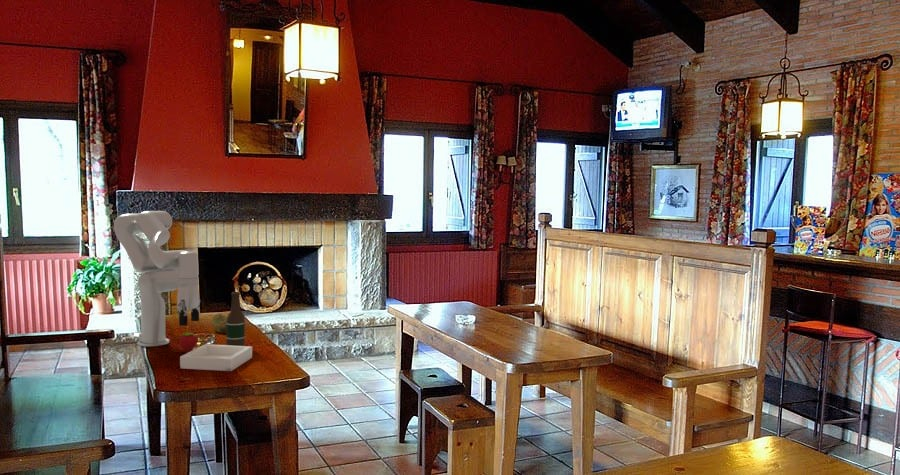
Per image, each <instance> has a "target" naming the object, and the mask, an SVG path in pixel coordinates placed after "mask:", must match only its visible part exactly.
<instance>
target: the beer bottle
mask: <svg viewBox="0 0 900 475" xmlns="http://www.w3.org/2000/svg"><path fill="white" fill-rule="evenodd" d="M230 296H231V301H230V302H231V303H230V306H231V308H230V312H229V313H228V314H227V316H226V317H227V322H226V333H225V334H226V335H225V336H226V337H225V338H226V339H225V340H226V341H225V342H226V344H225V345H231V346H246V345H245V344H246V319H245V315H244V313H243V311H242V310H241V300H240V296H241V292H240V291H233V292H231V295H230Z"/></svg>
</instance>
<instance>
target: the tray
mask: <svg viewBox="0 0 900 475" xmlns="http://www.w3.org/2000/svg"><path fill="white" fill-rule="evenodd" d="M252 358H253V346H249V345H248V346H246V345H245V346H231V345H226V344H208V343H207V344H206V343H205V344H202V345H201V346H199V347H196V348H195V349H194V348H193V349H192V350H191V351H190V352H188V353H187V352H186V353H185V354H182V355H180V357H179V366H180V369H187V370H205V371H221V372H222V371H223V372H224V371H225V372H232V371H234V370H235V369H237V368H238V367H240V366H241V365H243V364H245V363H246V362H248V361H249V360H250V359H252Z"/></svg>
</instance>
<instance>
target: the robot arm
mask: <svg viewBox="0 0 900 475" xmlns="http://www.w3.org/2000/svg"><path fill="white" fill-rule="evenodd" d="M172 225H173V218H172V216H171V214H170V213H169V212H167V211H165V210H145V211H142V212H140V213H139V212H138V213H125V214H120V215H118V216H117V217H116V218H115V219H114V222H113V230H114V233H115V236H116V238H117V240H118V242H119V243H120V244H121V245H122V247H123V248H124V249H125V252H126V254H127V256H128V258H129V260H130V262H131V264H132V266H133V268H134V270H135V271H136V272H138V273H141V274H140V275H139V277H138V280H137V285H138V290H139V295H140V317H141V318H140V322H141V324H140V328H141V329H140V330H141V332H140V333H139V332H137V333H135V332H134V333H133V337H132V338H133V339H138V341H137V346H139V347H144V348H145V347H146V348H147V347H151V348H152V347H159V346H165V345H168V344H169V343H170V339H169V338H167V337H166V302H165V298H163V296H162V295H161V294H160V293H164V292H166V293H167V292H172V291H176V290H177V295H176V297H177V298H176V299H177V300H176V303H177V304H176V309H177V313H178V317H179V318H178V320H179V323H178V324H179V326H180V327H181V326H185V327H187V326H188V324H189V323H188V315H187V314H188V311H190V319H191V320H190V321H191V322H199V321H200V307H201V299H200V295H199V293H200V292H199V260H198V259H199V257H198V253H197V252H196V251H188V250H186V249H185V250H184V249H178V250H177V249H176V250H162V249H161V247H162V246H164V245H165V244H166V243H167V242H168V241H169V240H170V237H171V232H170V231H169V230H170V228H171V227H172ZM136 233H137V234H138V233H143V235H144V236H145V237H146V239H147V240H148V241H149V243H148V245H147V243H146V242H145V241H144V240H143V238H141V237H140V236H139V235H137V234H136Z"/></svg>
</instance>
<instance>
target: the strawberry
mask: <svg viewBox="0 0 900 475" xmlns="http://www.w3.org/2000/svg"><path fill="white" fill-rule="evenodd" d="M188 331H189V329H187V331H186V332H185V333H180V335H181V336H179V338H178V343H179V346H180V347H181V349H183V351H185V352H186V354H187V353H188V352H190V351H192V350H194V348H195V347H196V345H197V344H198V341H199V338H198V336H197V335H196V333H195V332H188Z"/></svg>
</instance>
